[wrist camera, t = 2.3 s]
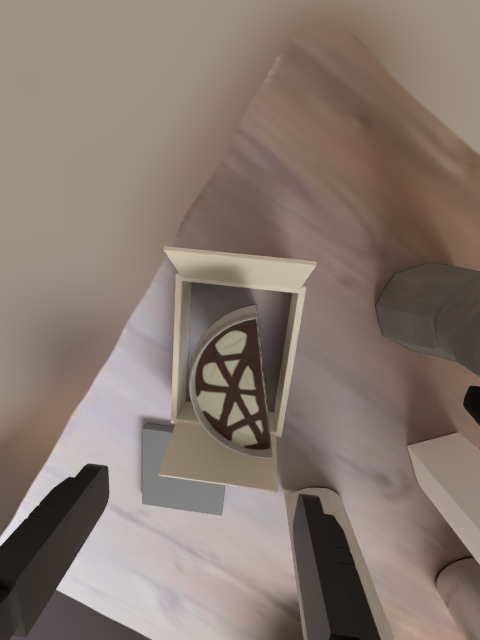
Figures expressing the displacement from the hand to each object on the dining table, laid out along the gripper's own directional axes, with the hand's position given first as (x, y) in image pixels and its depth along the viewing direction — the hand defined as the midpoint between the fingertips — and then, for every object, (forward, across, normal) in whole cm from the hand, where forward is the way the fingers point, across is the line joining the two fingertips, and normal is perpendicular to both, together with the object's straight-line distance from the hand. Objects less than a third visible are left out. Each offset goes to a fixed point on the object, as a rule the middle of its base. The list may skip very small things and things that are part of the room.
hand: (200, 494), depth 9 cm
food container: (+18, 0, 0) cm, 18 cm away
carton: (+17, 0, 0) cm, 17 cm away
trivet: (+17, +5, +18) cm, 25 cm away
